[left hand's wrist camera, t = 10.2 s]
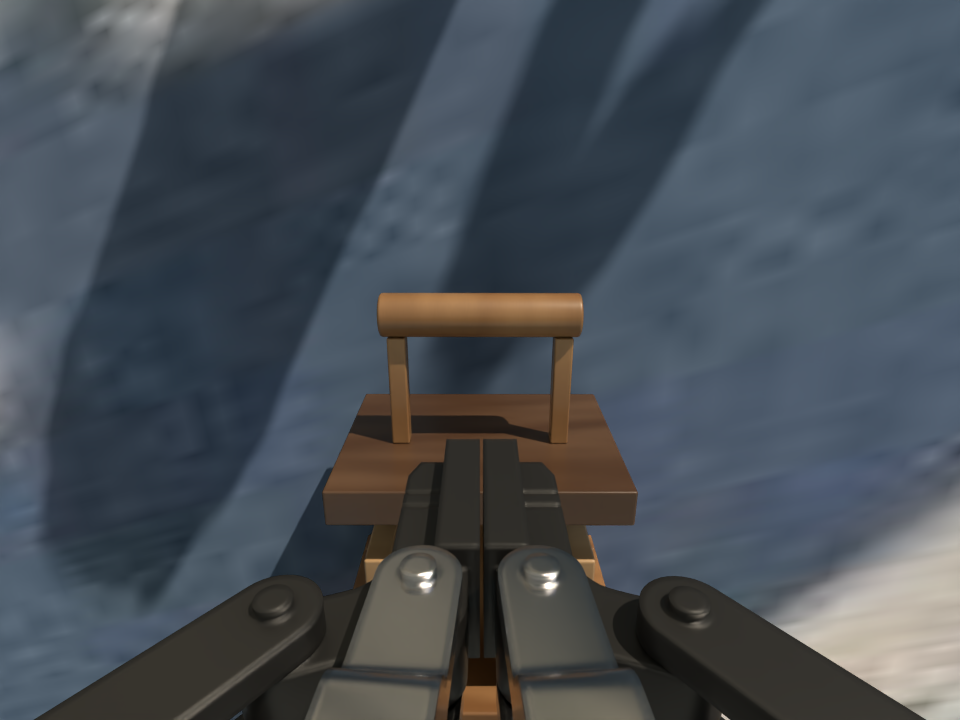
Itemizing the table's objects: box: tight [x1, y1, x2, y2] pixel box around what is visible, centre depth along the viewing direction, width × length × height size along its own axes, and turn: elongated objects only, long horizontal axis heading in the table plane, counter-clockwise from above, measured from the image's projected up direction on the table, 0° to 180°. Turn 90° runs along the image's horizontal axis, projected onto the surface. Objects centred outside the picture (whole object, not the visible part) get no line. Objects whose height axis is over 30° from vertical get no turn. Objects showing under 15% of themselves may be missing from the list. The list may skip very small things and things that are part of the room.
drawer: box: [322, 293, 638, 686], centre depth 23 cm, size 26×9×7 cm, turn 0°
